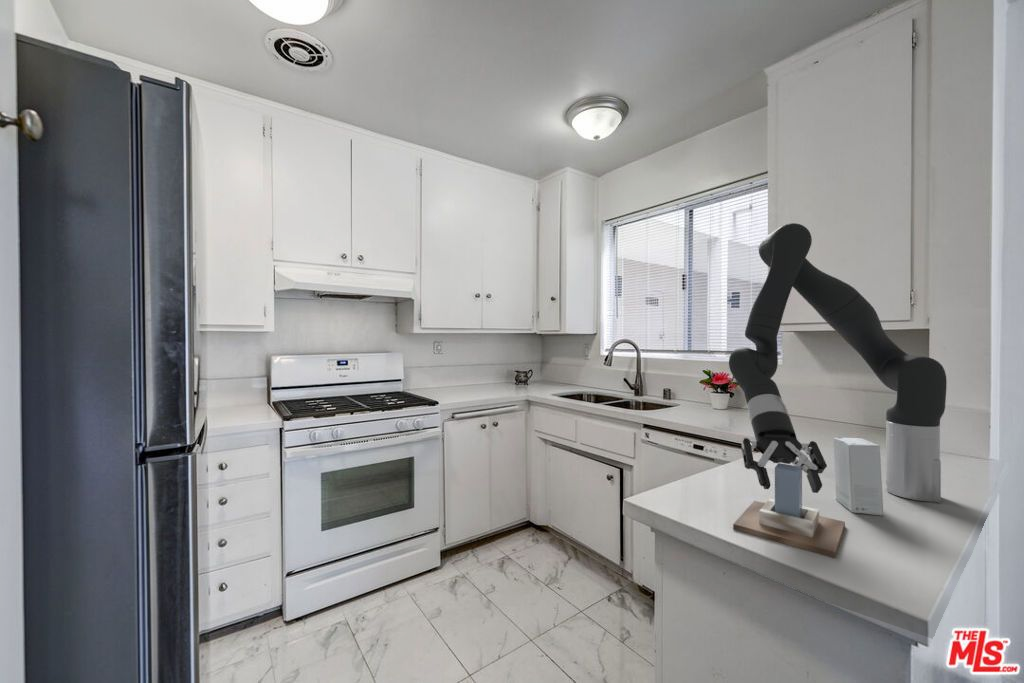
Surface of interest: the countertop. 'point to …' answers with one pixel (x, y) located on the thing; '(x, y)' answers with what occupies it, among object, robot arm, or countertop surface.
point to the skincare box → (858, 475)
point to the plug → (788, 490)
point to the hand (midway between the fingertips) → (791, 489)
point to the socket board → (792, 527)
